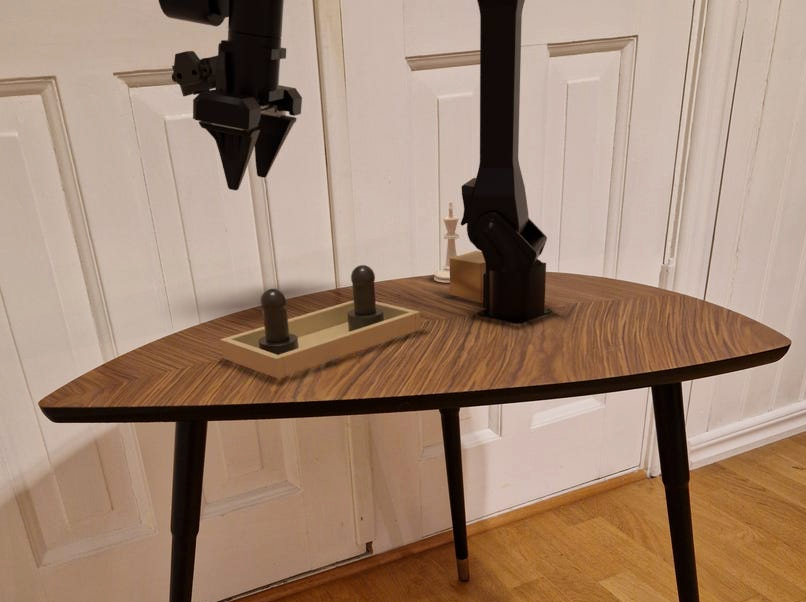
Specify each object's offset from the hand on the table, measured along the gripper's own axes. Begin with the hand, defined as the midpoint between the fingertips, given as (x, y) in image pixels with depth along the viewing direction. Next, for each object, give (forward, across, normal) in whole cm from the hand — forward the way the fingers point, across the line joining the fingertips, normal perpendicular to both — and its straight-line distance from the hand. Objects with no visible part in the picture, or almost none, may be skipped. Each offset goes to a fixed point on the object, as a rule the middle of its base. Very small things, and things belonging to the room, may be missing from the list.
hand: (248, 183), depth 95 cm
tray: (+12, +15, +15) cm, 25 cm away
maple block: (+9, -5, +29) cm, 31 cm away
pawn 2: (+11, +10, +18) cm, 24 cm away
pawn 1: (+12, +20, +12) cm, 26 cm away
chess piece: (+11, -14, +24) cm, 30 cm away
